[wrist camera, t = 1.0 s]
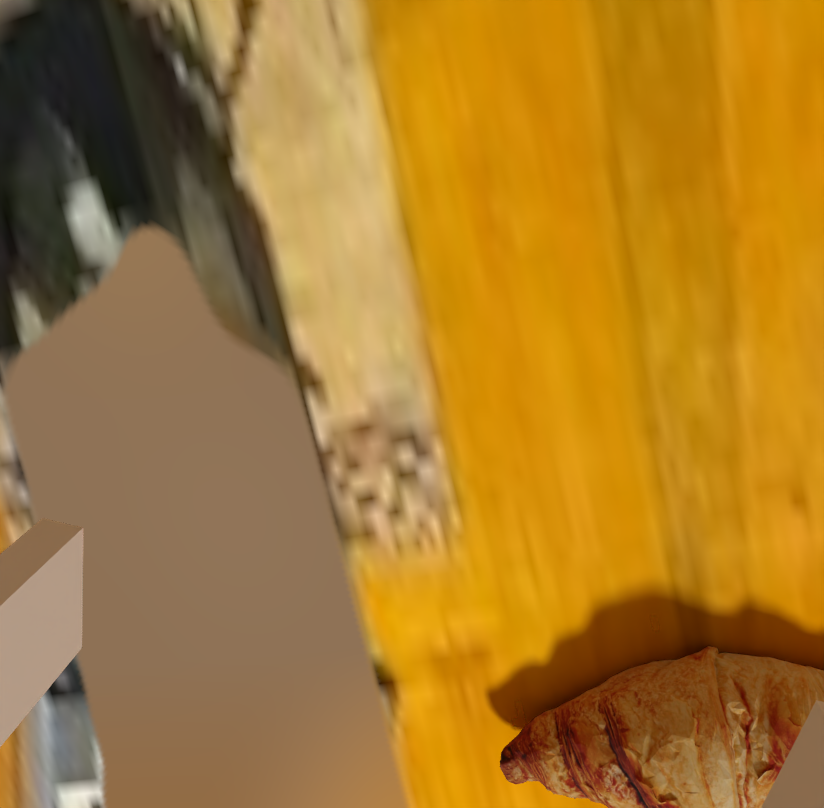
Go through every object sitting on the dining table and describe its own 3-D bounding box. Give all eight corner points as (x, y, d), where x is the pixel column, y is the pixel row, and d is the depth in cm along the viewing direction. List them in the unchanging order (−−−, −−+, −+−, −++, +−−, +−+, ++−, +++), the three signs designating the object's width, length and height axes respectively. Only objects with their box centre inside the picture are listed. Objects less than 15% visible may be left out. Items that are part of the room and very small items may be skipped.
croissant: (855, 606, 42) (917, 630, 34) (910, 793, 40) (989, 863, 32) (491, 665, 46) (472, 698, 38) (527, 837, 44) (515, 909, 36)
